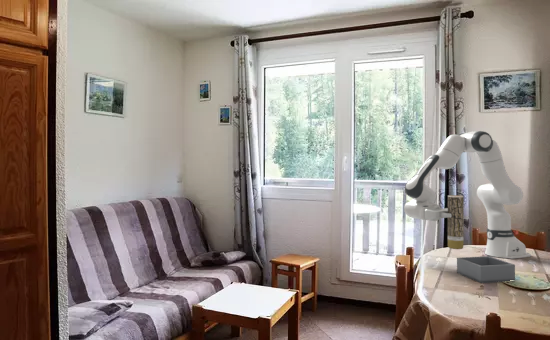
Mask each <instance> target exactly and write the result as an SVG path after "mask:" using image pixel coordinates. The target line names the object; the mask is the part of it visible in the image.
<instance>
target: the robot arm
mask: <svg viewBox="0 0 550 340" xmlns="http://www.w3.org/2000/svg"><path fill="white" fill-rule="evenodd" d="M463 153H476V154H477V157H478V162H479V165H480V166H479V167H480V169H481V170H480V171H481V175H482V176H483V177H484V178H485V179H486V180H487V181H488V182H490V183H485V184H481V185H479V186H478V188H477V190H476V196H477V198H478V199H479V200H480V201H481V202H482V204H483V206H484V208H485V210H486V217H487V228H486V238H487V240H486V247H485V251H484V255H485V256H490V257H493V258H504V259H505V258H506V259H512V260H513V259H521V258H522V259H523V258H530V257H532V254H531V253H529V252H527V247H526V245H525V244H524V243H523V242H522V241H520V240H519V239H518V238H517V237H516V236H515V235H519V231H518V230H512V217H511V214H510V213H509V212H508V211H507V210H506V208H505V206H504V205H506V206H508V205H509V206H511V205H517V204H519V203H521V201H522V200H523V198H524V193H523V190H522V188H521V187H520V186H518V185H517V184H516V183H514V181H513V180H512V179H511V177H510V176H509V174H508V172H507V169H506V166H505V162H504V160H503V155H502V152H501V149H500V147H499V145H498V142H496V141H495V140H494V139H493V138H492V135H490V133H488V132H486V131H484V130H483V131H482V130H479V131H478V130H477V131H474V130H473V131H469V132H463V133H460V134H456V133H455V134H449V136H448V137H447V138H446V139H445V140H444V141H443V142H442V144H441V145H440V147H439V149H438V150H437V151H436V153H434V154H432V155H430V156H429V157H427V158H426V159H425V161H424V162H423V164H422V165H421V166H420V168H419V169H418V170H417V171H416V172H415V174H414V175H413V176H412V177H411V178H410V179H409V180H408V181H407V182H406V183H405V187H404V192H405V194H406V195H407V197H410V198H411V200H410V201H408V202H405V203H404V208H403V211H404V213H405V214H406V216H407V217H409V218H413V219H416V220H417V219H418V220H422V221H430V222H437V221H439V220H440V219H446V218H447V219H448V217H453V214H451V213H448V207H445V208H441V207H440V204H438V203H436V200H437V193H436V191H435V190H433V189H432V188H431V187H429V186H428V185H426V183H425V181H426V180H427V178H428V177H429V176H430V175H431V173H432V172H433V171H434V170H435V169H441V170H448V169H452V168H454V167H455V166H456V164H458V161H459V160H460V158H461V156H462V154H463ZM464 214H465V213H464V212H463V217H464V216H465V215H464Z"/></svg>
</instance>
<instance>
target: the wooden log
mask: <svg viewBox="0 0 550 340" xmlns="http://www.w3.org/2000/svg"><path fill="white" fill-rule="evenodd" d="M447 208H448V213H451V214H453V217H448V218H447V247H448V248H449V249H453V250H463V249H464V216H463V213H464V195H458V194H457V195H455V194H453V195H451V194H450V195H447Z"/></svg>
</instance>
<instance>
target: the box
mask: <svg viewBox="0 0 550 340" xmlns="http://www.w3.org/2000/svg"><path fill="white" fill-rule="evenodd" d="M456 273H457V274H459V275H461V276H463V277H465V278H467V279H469V280H472V281H475V282H477V283H479V284H490V283H491V284H492V283H506V282H505V281H510V280H515V281H516V265H515V264H513V263H511V262H508V261H505V260H502V259H498V258H497V257H494V256H489V255H485V256H481V255H480V256H464V257H456ZM510 282H511V281H510Z"/></svg>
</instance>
